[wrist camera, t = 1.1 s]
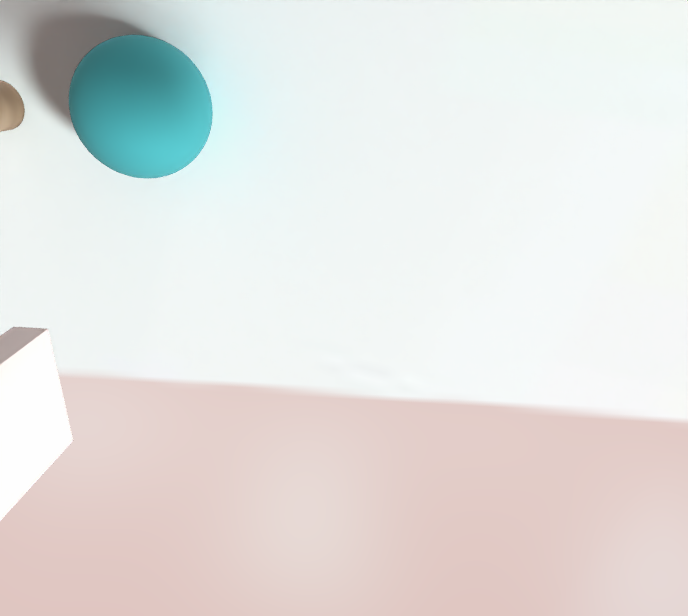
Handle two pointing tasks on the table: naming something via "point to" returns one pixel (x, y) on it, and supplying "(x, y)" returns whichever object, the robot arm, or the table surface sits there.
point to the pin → (10, 107)
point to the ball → (140, 106)
